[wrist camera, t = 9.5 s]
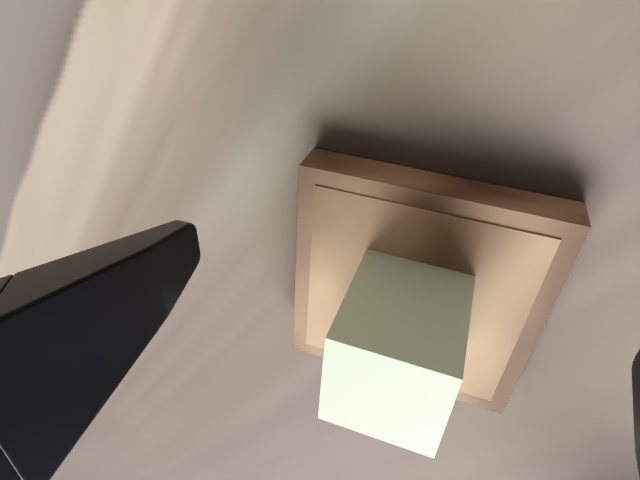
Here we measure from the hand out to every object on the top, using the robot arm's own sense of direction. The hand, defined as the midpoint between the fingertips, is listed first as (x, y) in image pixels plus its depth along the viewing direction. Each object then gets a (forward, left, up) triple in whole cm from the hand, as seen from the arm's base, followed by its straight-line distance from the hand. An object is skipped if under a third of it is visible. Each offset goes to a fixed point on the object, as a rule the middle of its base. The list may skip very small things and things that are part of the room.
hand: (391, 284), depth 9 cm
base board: (0, +9, -12) cm, 16 cm away
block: (0, +9, -10) cm, 14 cm away
